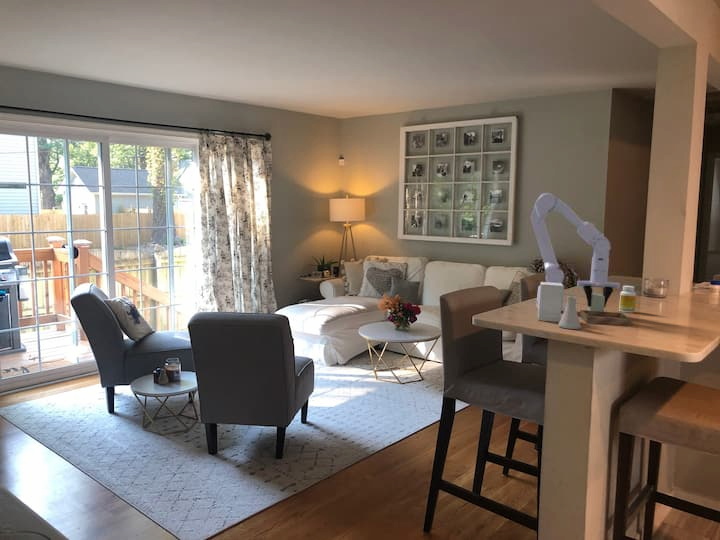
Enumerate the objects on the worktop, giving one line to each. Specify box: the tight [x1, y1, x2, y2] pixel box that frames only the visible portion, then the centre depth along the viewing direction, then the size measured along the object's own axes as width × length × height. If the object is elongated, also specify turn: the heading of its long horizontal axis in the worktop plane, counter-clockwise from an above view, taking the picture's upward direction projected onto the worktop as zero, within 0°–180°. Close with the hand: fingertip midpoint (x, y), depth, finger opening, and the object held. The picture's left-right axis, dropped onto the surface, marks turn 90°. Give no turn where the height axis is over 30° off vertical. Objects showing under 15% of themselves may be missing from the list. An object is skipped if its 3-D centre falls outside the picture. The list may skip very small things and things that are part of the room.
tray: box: [579, 309, 632, 327], centre depth 197 cm, size 14×12×2 cm
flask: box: [558, 295, 582, 330], centre depth 185 cm, size 7×7×10 cm
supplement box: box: [537, 281, 564, 323], centre depth 196 cm, size 7×7×13 cm
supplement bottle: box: [618, 285, 637, 313], centre depth 216 cm, size 5×5×10 cm
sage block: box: [587, 293, 605, 312], centre depth 210 cm, size 4×4×6 cm
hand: (596, 306), depth 210 cm, fingers closed on sage block, 4 cm apart
